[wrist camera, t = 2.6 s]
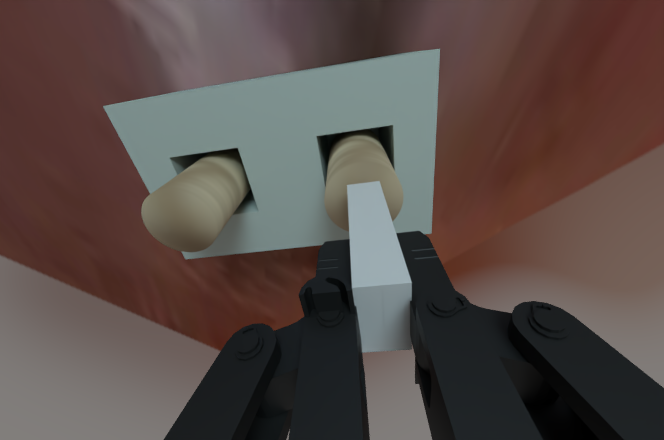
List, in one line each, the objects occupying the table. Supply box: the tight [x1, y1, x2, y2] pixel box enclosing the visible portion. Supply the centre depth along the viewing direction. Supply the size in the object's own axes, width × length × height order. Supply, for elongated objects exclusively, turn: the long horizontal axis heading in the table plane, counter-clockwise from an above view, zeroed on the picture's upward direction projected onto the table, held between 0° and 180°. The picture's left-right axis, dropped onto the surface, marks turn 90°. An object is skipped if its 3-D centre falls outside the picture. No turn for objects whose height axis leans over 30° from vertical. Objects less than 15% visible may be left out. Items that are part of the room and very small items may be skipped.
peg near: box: [324, 129, 404, 232], centre depth 17 cm, size 4×4×8 cm
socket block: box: [103, 49, 440, 259], centre depth 22 cm, size 20×12×9 cm, turn 98°
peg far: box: [141, 148, 251, 252], centre depth 18 cm, size 4×4×8 cm
